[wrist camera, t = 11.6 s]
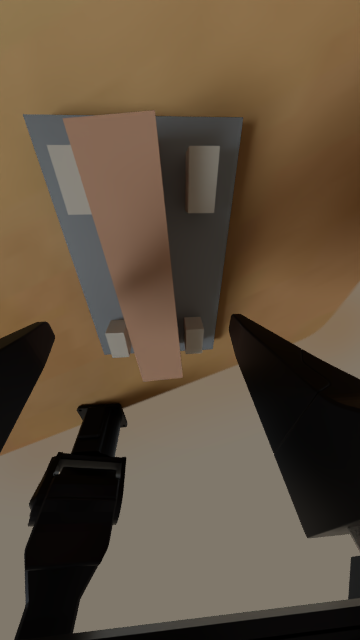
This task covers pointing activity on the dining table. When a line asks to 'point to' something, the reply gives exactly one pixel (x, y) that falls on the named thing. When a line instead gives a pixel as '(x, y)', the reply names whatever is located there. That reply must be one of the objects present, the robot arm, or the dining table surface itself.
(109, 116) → the clay strip
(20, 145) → the dining table surface
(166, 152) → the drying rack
